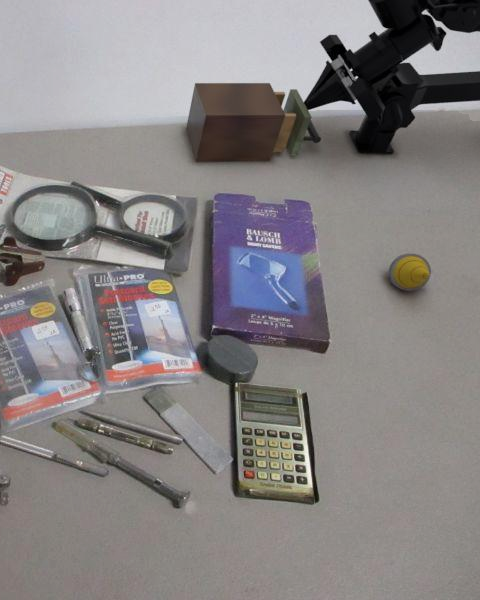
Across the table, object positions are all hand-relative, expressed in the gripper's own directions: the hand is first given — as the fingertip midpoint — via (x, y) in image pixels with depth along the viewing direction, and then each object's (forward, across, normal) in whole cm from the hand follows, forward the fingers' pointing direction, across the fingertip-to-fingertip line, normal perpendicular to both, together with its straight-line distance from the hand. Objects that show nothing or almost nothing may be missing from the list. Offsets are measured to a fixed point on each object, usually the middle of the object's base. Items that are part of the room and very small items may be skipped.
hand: (304, 107), depth 103 cm
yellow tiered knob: (0, -35, -10) cm, 37 cm away
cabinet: (+14, 0, +3) cm, 14 cm away
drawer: (+8, 0, -2) cm, 8 cm away
